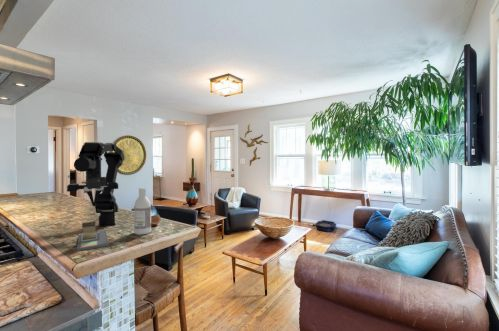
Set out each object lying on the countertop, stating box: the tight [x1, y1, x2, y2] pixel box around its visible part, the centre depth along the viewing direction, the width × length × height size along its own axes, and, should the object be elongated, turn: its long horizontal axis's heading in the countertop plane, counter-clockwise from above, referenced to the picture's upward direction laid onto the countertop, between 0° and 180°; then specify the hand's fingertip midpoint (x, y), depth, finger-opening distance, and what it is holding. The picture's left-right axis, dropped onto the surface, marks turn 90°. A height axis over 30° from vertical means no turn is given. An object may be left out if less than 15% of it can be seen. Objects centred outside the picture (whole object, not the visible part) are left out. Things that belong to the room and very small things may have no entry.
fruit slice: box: [151, 214, 161, 227], centre depth 121 cm, size 8×7×5 cm
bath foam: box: [133, 187, 152, 236], centre depth 109 cm, size 7×7×20 cm
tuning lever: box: [81, 221, 96, 240], centre depth 94 cm, size 2×4×9 cm
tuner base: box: [76, 230, 109, 252], centre depth 98 cm, size 20×10×4 cm, turn 32°
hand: (93, 206), depth 108 cm, fingers closed
